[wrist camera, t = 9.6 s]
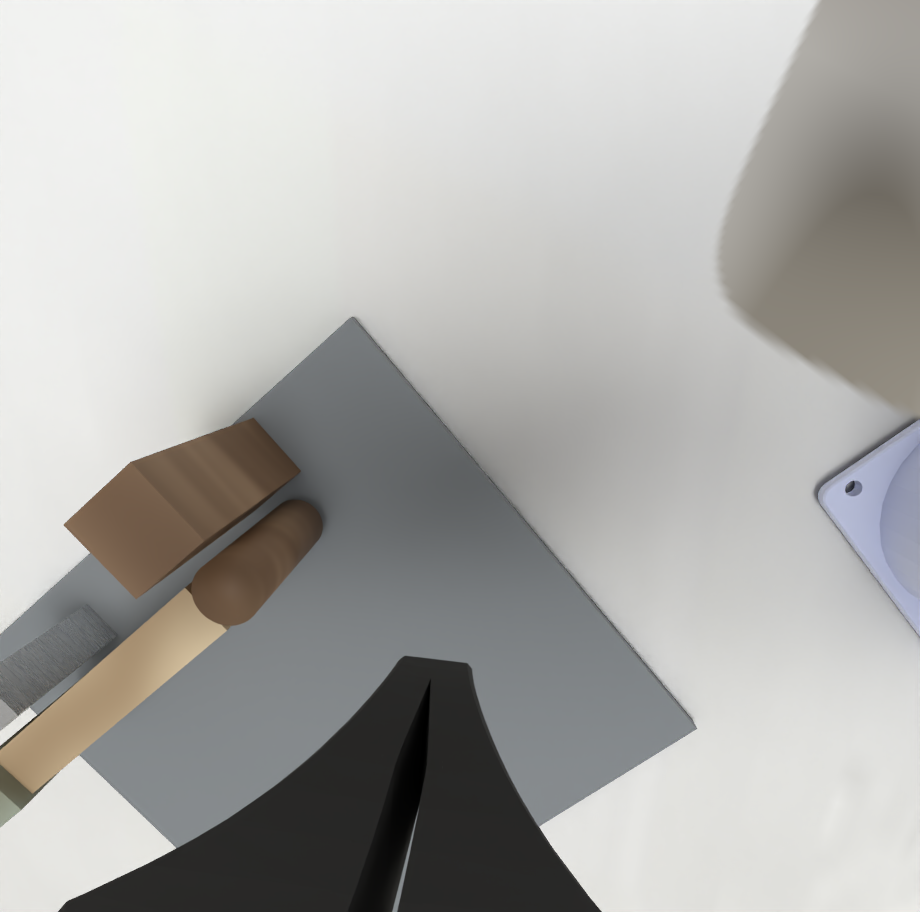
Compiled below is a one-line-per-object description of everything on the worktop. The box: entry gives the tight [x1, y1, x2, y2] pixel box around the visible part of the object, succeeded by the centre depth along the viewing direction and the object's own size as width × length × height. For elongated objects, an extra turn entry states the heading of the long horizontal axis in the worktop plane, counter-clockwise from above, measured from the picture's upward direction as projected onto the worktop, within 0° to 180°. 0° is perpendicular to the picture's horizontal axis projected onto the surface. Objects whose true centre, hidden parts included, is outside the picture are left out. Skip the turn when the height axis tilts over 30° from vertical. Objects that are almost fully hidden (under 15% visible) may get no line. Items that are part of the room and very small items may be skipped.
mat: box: [0, 317, 697, 912], centre depth 22 cm, size 20×19×1 cm
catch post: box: [0, 604, 118, 731], centre depth 19 cm, size 2×2×5 cm
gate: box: [0, 500, 323, 827], centre depth 18 cm, size 2×12×5 cm, turn 131°
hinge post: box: [64, 418, 301, 599], centre depth 17 cm, size 2×2×7 cm
